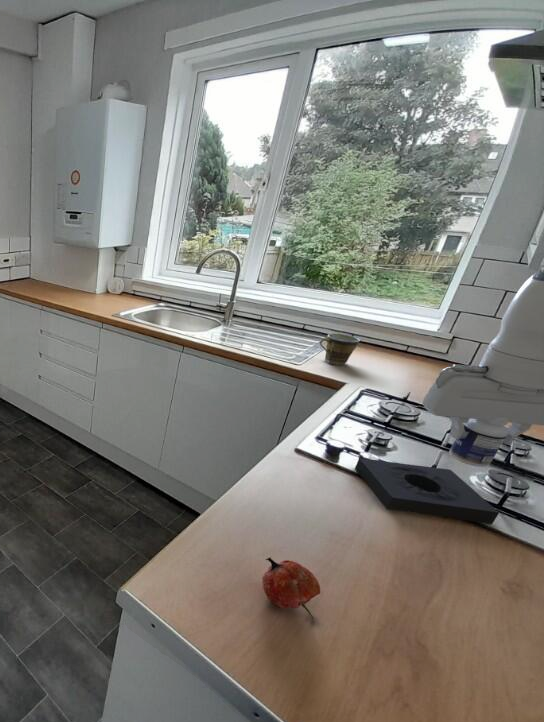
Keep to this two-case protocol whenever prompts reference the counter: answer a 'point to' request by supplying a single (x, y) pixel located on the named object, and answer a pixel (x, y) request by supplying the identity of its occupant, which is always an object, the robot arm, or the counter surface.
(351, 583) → the counter surface
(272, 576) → the pomegranate
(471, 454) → the pill bottle
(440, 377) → the robot arm
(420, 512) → the black pad
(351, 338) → the ceramic cup
